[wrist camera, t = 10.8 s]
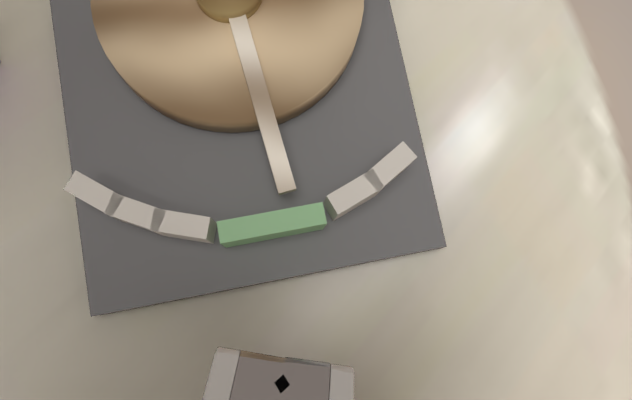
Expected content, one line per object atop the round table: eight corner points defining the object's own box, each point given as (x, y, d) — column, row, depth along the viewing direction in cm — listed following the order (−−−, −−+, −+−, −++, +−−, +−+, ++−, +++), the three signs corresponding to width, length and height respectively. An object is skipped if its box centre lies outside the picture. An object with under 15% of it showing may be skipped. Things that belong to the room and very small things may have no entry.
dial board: (46, -90, 36) (12, -144, 31) (352, -130, 38) (361, -186, 33) (99, 315, 32) (69, 319, 27) (439, 248, 34) (463, 242, 29)
